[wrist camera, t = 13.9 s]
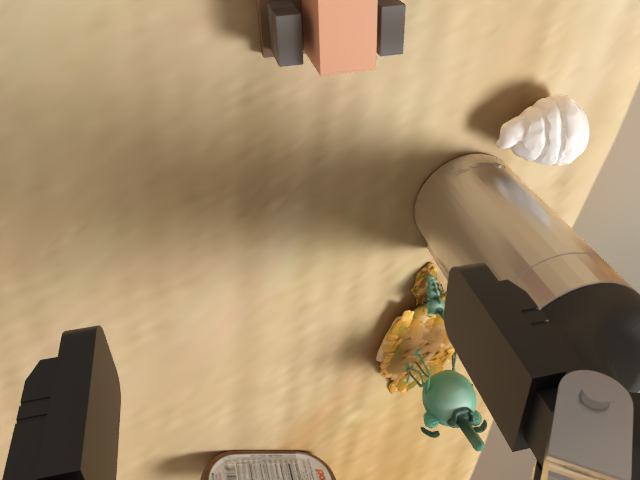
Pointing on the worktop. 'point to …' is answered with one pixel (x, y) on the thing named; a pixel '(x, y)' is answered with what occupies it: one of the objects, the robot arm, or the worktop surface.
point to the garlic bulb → (547, 131)
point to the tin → (267, 466)
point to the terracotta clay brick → (340, 35)
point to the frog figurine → (430, 362)
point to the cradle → (287, 29)
